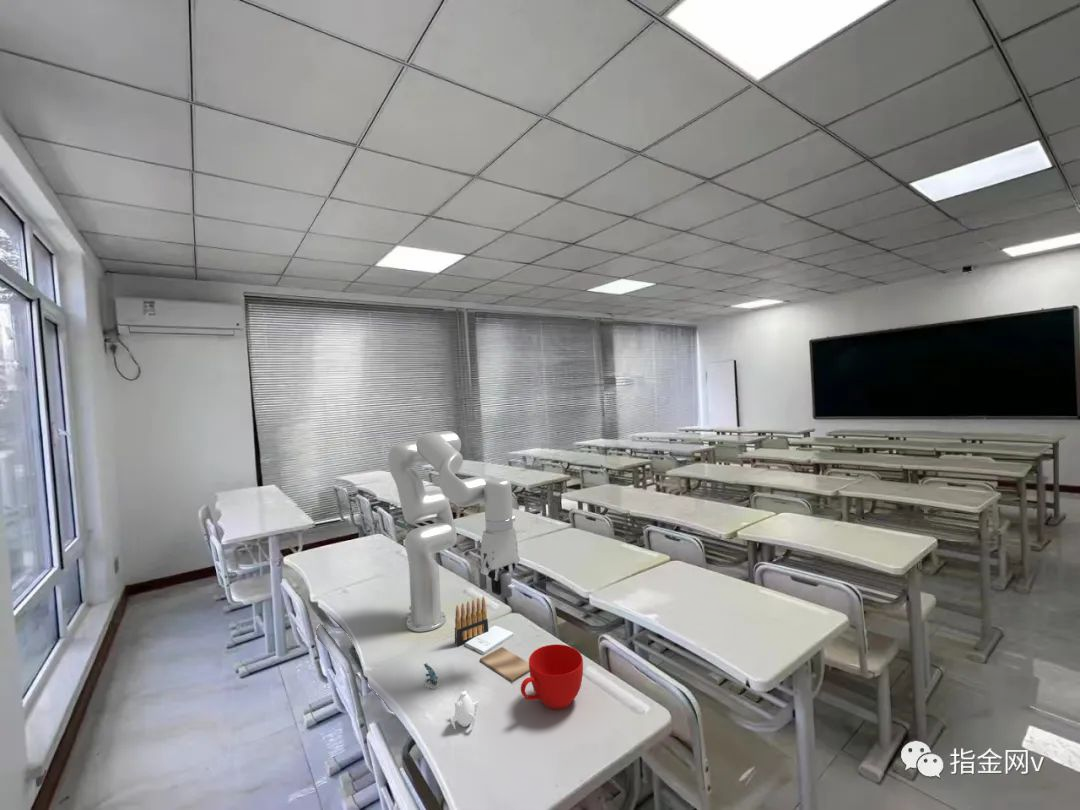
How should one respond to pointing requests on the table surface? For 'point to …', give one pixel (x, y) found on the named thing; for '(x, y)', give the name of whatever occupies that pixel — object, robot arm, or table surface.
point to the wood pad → (506, 664)
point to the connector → (505, 583)
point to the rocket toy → (464, 710)
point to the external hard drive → (489, 639)
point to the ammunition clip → (470, 622)
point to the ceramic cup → (554, 675)
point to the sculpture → (431, 678)
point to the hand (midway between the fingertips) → (501, 590)
